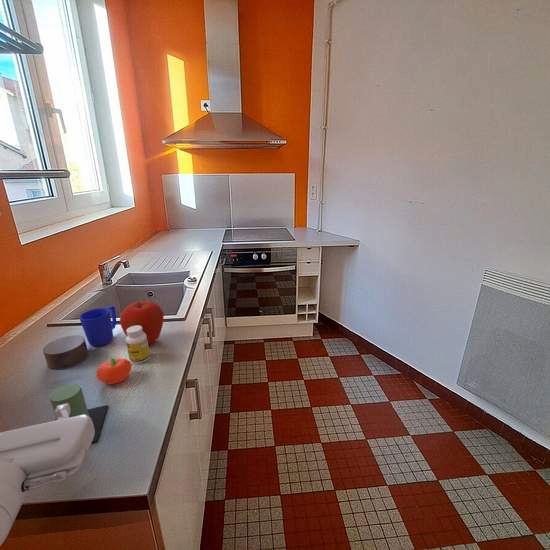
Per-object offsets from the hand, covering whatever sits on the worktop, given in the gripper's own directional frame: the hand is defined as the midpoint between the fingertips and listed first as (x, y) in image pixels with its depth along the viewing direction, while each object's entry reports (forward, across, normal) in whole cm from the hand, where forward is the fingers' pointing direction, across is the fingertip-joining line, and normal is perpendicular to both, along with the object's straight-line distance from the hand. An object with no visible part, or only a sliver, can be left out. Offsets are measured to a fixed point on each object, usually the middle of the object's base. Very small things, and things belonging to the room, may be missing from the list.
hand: (30, 414), depth 47 cm
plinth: (+42, +10, +15) cm, 46 cm away
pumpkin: (+27, -5, +15) cm, 31 cm away
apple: (+44, -11, +15) cm, 48 cm away
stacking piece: (+12, 0, +14) cm, 19 cm away
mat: (+12, 0, +15) cm, 19 cm away
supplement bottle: (+35, -10, +15) cm, 39 cm away
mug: (+51, +2, +15) cm, 53 cm away
